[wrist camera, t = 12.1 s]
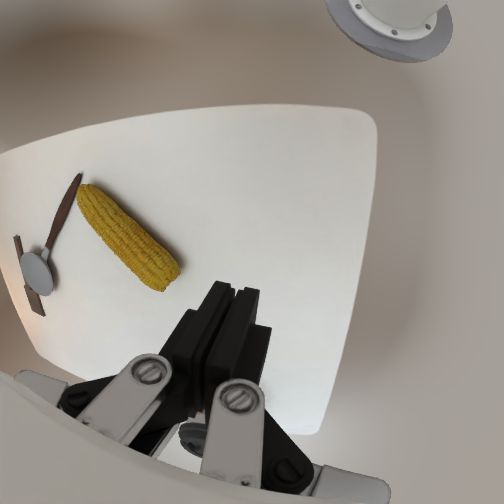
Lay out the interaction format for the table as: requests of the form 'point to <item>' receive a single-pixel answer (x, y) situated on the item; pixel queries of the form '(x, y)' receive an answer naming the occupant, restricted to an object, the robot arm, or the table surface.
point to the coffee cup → (194, 434)
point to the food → (127, 239)
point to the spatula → (31, 294)
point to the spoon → (47, 249)
